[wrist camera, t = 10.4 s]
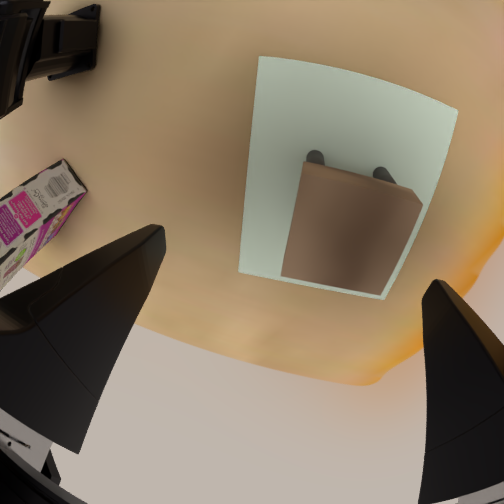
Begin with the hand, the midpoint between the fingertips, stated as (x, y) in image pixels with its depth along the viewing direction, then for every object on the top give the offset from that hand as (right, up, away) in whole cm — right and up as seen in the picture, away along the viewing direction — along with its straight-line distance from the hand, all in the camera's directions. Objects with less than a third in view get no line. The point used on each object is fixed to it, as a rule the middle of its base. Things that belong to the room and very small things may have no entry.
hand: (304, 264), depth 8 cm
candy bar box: (-24, +6, +17) cm, 30 cm away
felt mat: (+5, +5, +11) cm, 13 cm away
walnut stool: (+5, +4, +11) cm, 12 cm away
